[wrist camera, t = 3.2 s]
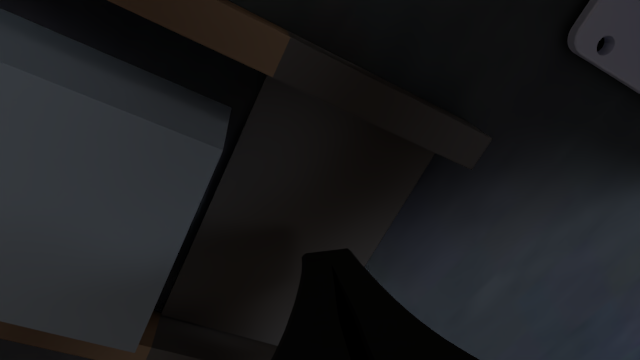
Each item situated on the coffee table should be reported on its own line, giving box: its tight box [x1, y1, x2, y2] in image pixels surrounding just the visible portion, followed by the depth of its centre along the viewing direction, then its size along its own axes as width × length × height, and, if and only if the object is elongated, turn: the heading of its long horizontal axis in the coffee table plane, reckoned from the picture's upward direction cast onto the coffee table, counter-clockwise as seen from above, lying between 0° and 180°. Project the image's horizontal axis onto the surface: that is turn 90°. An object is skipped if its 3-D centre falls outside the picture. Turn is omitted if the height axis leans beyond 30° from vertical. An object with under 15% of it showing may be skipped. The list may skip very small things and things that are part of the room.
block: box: [0, 8, 231, 353], centre depth 11 cm, size 6×6×4 cm
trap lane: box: [0, 0, 492, 360], centre depth 11 cm, size 21×11×2 cm, turn 63°
